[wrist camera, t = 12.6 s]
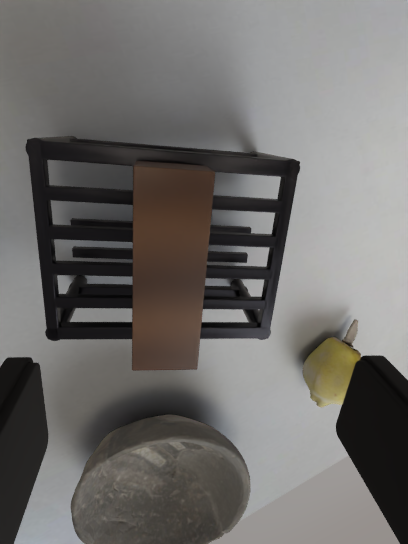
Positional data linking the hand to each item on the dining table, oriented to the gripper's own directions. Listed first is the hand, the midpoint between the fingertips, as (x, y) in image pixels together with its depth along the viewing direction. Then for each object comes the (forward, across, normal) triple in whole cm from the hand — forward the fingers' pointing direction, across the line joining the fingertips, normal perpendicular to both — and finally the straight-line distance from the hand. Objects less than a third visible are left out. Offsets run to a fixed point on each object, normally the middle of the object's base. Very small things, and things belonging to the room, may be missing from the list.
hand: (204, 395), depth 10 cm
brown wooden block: (+13, +1, +1) cm, 13 cm away
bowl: (+22, 0, +28) cm, 35 cm away
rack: (+22, +1, +1) cm, 22 cm away
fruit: (+22, -18, +15) cm, 32 cm away
